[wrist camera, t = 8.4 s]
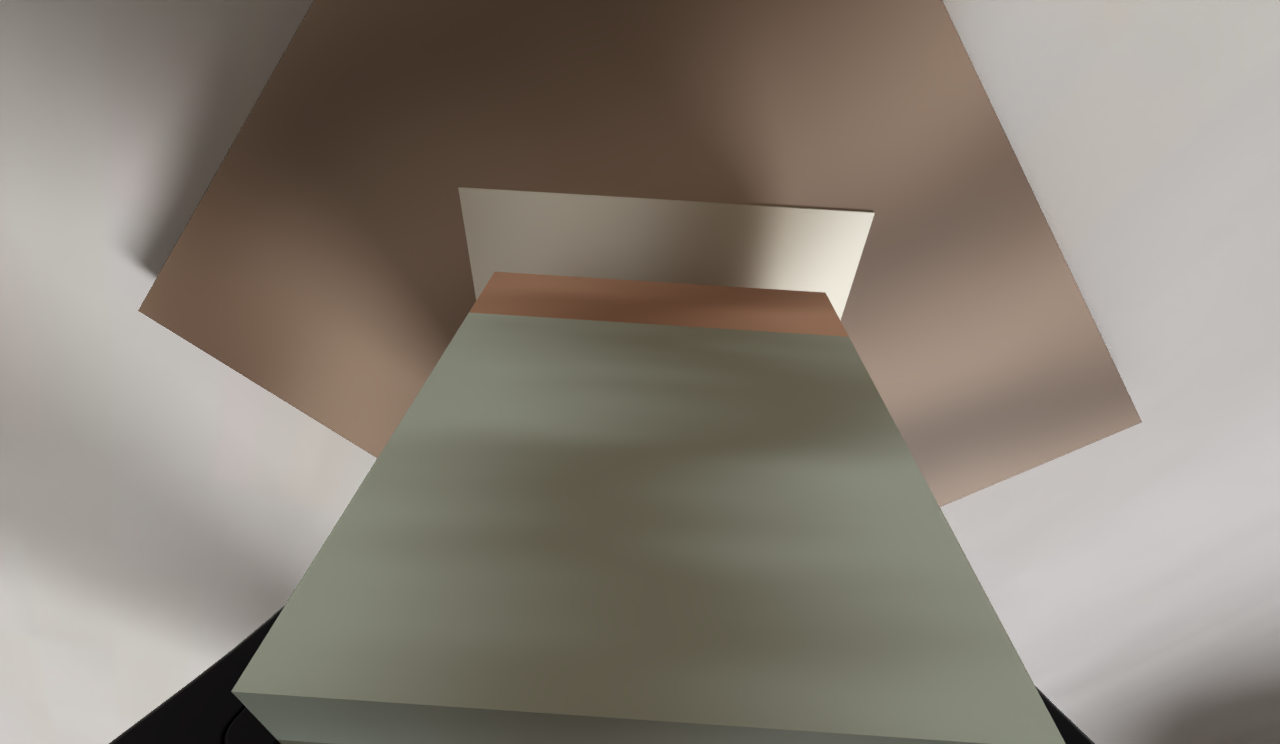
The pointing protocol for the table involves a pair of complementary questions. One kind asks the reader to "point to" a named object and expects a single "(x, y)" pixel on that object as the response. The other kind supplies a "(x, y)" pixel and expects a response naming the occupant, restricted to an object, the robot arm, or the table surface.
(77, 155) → the table surface
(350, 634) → the sleeve
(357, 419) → the pin board
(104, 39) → the table surface
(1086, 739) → the robot arm
